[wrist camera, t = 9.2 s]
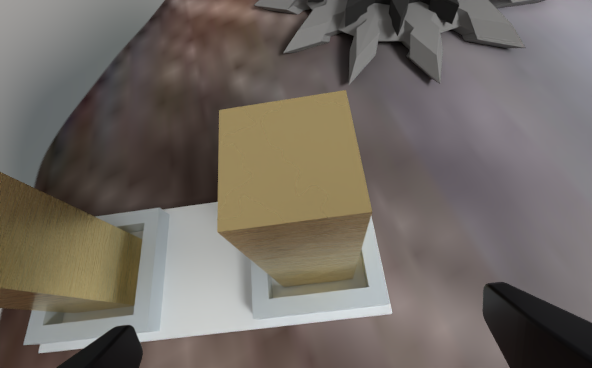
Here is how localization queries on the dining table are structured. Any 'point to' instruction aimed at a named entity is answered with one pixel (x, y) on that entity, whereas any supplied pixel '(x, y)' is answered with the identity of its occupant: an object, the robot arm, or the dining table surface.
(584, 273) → the dining table surface
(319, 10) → the decorative piece
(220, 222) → the billet
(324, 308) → the white shallow tray
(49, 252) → the seated billet
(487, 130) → the dining table surface
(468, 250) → the dining table surface
